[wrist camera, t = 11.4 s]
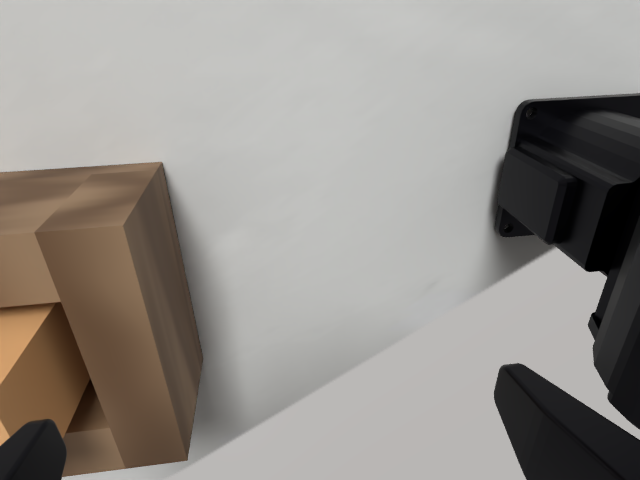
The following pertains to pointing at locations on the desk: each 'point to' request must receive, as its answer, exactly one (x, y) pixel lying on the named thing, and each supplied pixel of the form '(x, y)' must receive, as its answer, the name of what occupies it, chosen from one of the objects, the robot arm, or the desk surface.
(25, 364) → the peg
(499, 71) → the desk surface
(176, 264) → the socket
